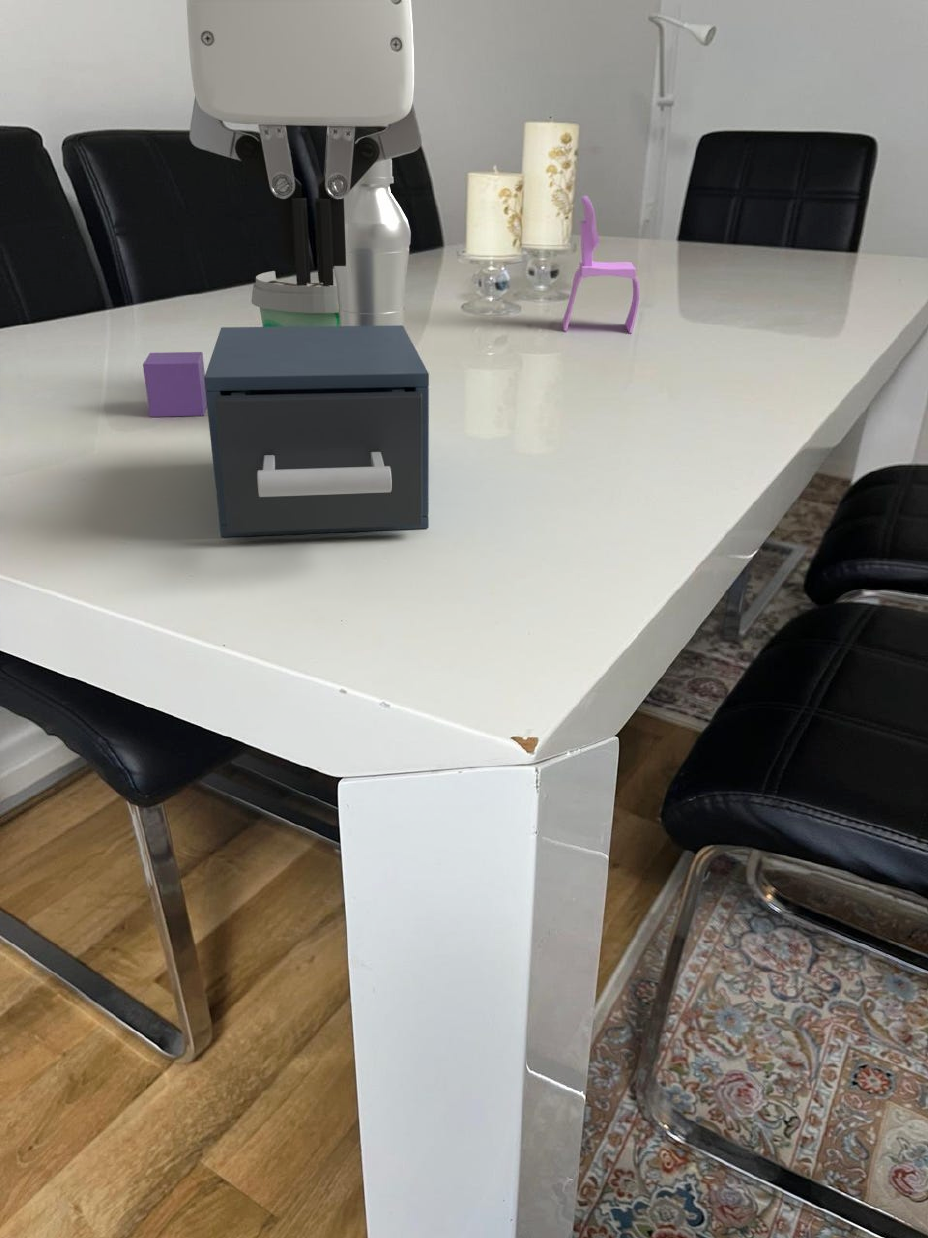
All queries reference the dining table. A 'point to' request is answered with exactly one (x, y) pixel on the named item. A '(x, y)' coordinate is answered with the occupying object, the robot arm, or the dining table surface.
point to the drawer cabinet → (314, 379)
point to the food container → (294, 303)
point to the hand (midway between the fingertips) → (314, 280)
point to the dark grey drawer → (320, 458)
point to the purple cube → (175, 384)
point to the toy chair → (599, 266)
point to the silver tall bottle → (373, 253)
